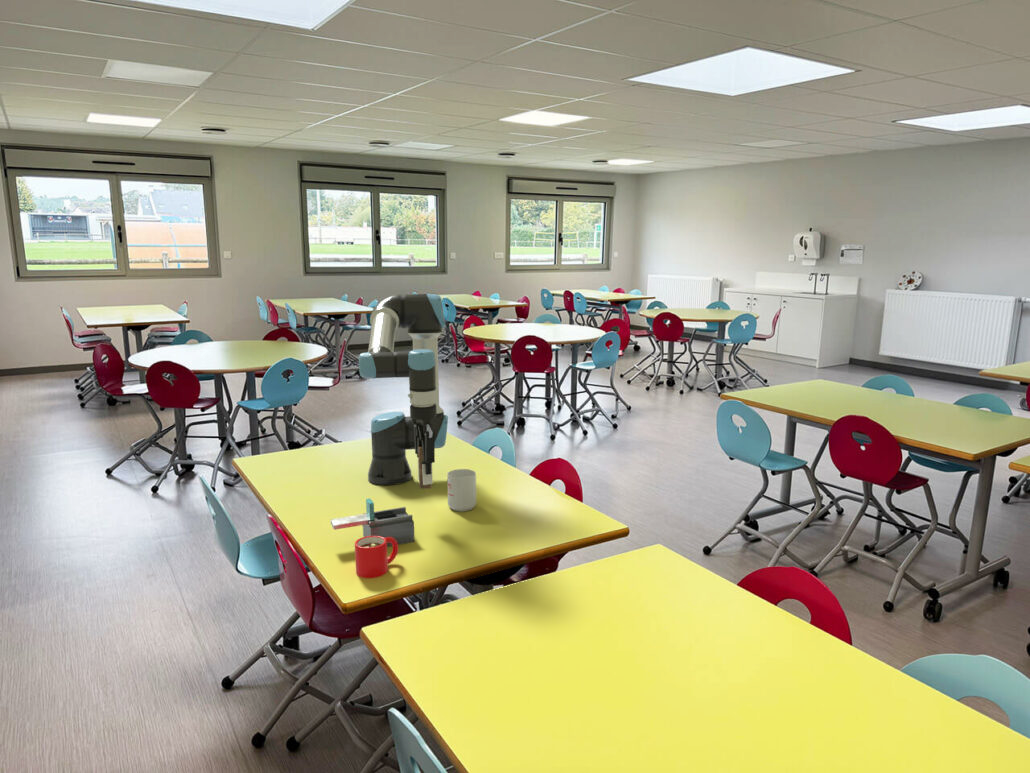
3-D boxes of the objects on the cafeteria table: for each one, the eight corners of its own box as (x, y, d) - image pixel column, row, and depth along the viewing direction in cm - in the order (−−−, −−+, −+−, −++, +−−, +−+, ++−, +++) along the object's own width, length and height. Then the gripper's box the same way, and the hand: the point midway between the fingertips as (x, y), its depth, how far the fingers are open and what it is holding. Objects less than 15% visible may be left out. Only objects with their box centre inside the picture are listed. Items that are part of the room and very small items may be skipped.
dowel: (417, 485, 206) (416, 446, 203) (429, 484, 207) (428, 445, 205) (421, 489, 203) (420, 450, 200) (433, 487, 204) (432, 448, 201)
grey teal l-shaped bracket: (330, 523, 191) (329, 504, 189) (370, 517, 195) (369, 498, 194) (334, 529, 186) (332, 509, 185) (374, 523, 191) (374, 503, 190)
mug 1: (407, 565, 180) (406, 536, 178) (368, 581, 171) (367, 551, 169) (388, 556, 185) (387, 528, 183) (349, 571, 176) (348, 542, 175)
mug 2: (481, 508, 219) (481, 474, 217) (457, 514, 214) (457, 479, 212) (461, 497, 228) (460, 464, 226) (437, 503, 223) (436, 470, 221)
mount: (363, 536, 198) (362, 511, 196) (404, 528, 203) (403, 505, 201) (371, 549, 189) (370, 524, 188) (414, 541, 194) (413, 517, 192)
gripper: (402, 399, 205) (405, 474, 210) (419, 411, 191) (421, 493, 196) (426, 396, 208) (429, 471, 213) (445, 409, 194) (447, 489, 199)
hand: (425, 481), depth 205 cm, fingers closed on dowel, 3 cm apart
